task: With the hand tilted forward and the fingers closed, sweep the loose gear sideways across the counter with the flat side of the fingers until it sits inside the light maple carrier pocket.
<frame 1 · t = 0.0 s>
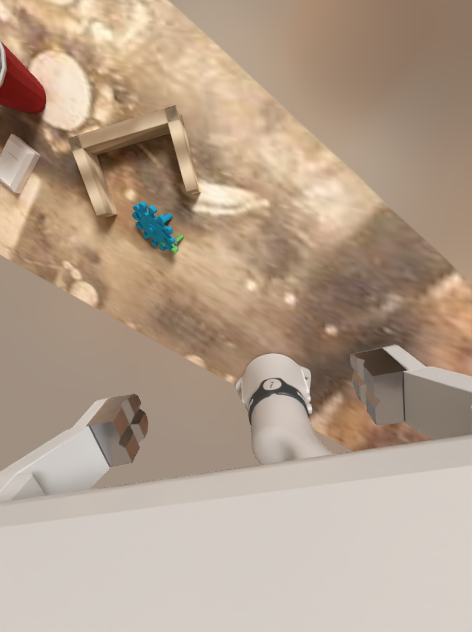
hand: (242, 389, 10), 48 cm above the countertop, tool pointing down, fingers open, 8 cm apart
soap bar: (21, 166, 52), on the countertop
carrier pocket: (142, 169, 50), on the countertop
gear: (162, 229, 54), on the countertop
plastic cup: (31, 94, 47), on the countertop
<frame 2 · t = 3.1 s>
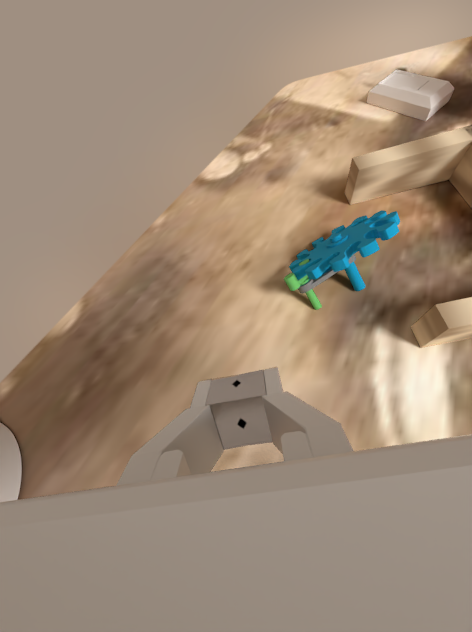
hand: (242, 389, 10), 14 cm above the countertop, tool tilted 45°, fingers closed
soap bar: (404, 106, 37), on the countertop
carrier pocket: (442, 242, 26), on the countertop
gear: (329, 273, 28), on the countertop
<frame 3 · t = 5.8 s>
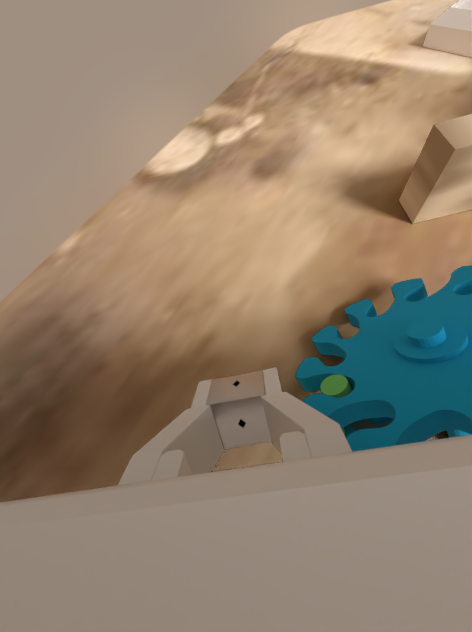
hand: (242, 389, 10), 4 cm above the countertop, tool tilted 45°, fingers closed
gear: (383, 382, 12), on the countertop, touching gripper
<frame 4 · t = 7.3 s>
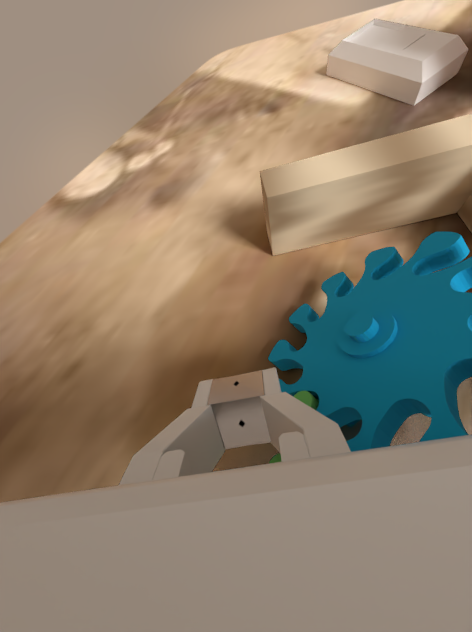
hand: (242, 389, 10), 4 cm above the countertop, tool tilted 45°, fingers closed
soap bar: (384, 82, 23), on the countertop
carrier pocket: (442, 356, 12), on the countertop
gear: (345, 376, 13), on the countertop, touching gripper
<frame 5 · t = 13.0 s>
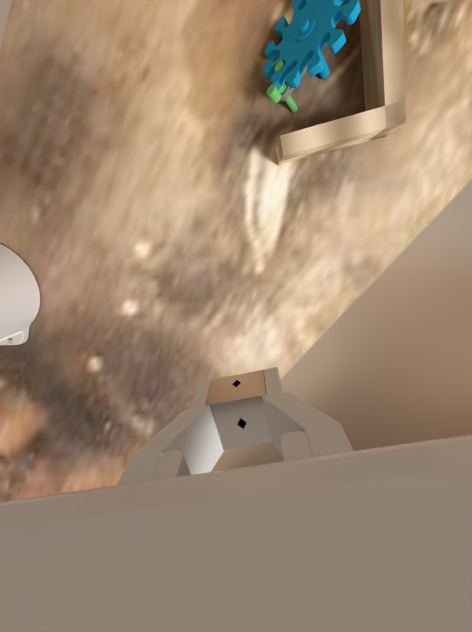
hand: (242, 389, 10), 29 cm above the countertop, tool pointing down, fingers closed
carrier pocket: (319, 52, 29), on the countertop
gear: (296, 63, 30), on the countertop
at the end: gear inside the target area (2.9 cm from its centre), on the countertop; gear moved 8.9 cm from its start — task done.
